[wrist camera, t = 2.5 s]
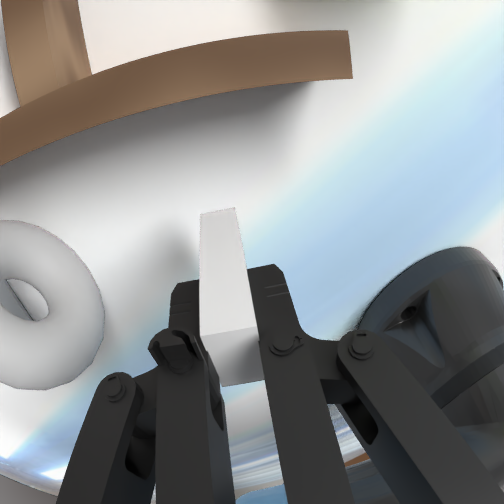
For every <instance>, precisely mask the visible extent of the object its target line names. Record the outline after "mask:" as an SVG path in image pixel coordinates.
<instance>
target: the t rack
mask: <svg viewBox="0 0 504 504" xmlns="http://www.w3.org/2000/svg"><path fill="white" fill-rule="evenodd" d="M1 5H2V14H3V23H4V30H5V37H6V43H7V49H8V54H9V60H10V65H11V69H12V74H13V79H14V83H15V87H16V91H17V95H18V99H19V103H20V108H18V109H16V110H14V111H12V112H10V113H9V114H7V115H5V116H3V117H1V118H0V166H1V165H3V164H5V163H7V162H9V161H11V160H13V159H15V158H18V157H20V156H22V155H24V154H26V153H28V152H31V151H33V150H35V149H37V148H40V147H42V146H44V145H47V144H49V143H52V142H54V141H57V140H59V139H62V138H64V137H67V136H69V135H72V134H75V133H77V132H80V131H83V130H86V129H88V128H91V127H94V126H97V125H100V124H103V123H106V122H109V121H112V120H115V119H118V118H122V117H125V116H128V115H131V114H135V113H138V112H142V111H145V110H149V109H153V108H157V107H160V106H164V105H168V104H172V103H176V102H181V101H185V100H189V99H194V98H199V97H204V96H208V95H214V94H219V93H224V92H230V91H236V90H242V89H248V88H255V87H262V86H269V85H277V84H286V83H295V82H306V81H319V80H335V79H353V76H352V64H351V54H350V45H349V36H348V31H345V30H327V31H298V32H283V33H272V34H262V35H253V36H245V37H238V38H231V39H225V40H219V41H213V42H208V43H203V44H198V45H193V46H188V47H184V48H179V49H175V50H171V51H167V52H163V53H159V54H155V55H152V56H148V57H145V58H141V59H138V60H135V61H131V62H128V63H125V64H122V65H119V66H116V67H113V68H110V69H107V70H104V71H101V72H99V73H96V74H93V75H92V73H91V68H90V64H89V59H88V54H87V50H86V45H85V40H84V35H83V29H82V24H81V18H80V12H79V6H78V0H1Z"/></svg>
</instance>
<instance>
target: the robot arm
mask: <svg viewBox="0 0 504 504" xmlns="http://www.w3.org/2000/svg"><path fill="white" fill-rule="evenodd" d="M170 306H171V307H170V316H169V327H168V328H167V329H163V330H162V331H160V332H159V333H157V334H156V335H155V336H154V337H153V338H152V340H151V341H150V343H149V346H148V350H149V352H150V353H151V355H152V357H153V358H154V360H155V361H156V363H157V364H158V366H157V367H155V368H154V369H152V370H150V371H149V372H146V373H144V374H141V375H139V376H137V377H134V378H132V377H131V376H130V375H129V374H126V373H123V372H116V373H113V374H110V375H108V376H106V377H105V378H104V379H103V380H102V381H101V382H100V384H99V385H98V387H97V389H96V392H95V394H94V397H93V399H92V402H91V404H90V407H89V409H88V412H87V414H86V417H85V420H84V422H83V425H82V427H81V430H80V433H79V435H78V438H77V441H76V444H75V447H74V449H73V452H72V455H71V458H70V461H69V464H68V467H67V470H66V473H65V476H64V479H63V482H62V485H61V488H60V492H59V495H58V498H57V501H56V504H150V503H151V499H152V495H153V490H154V486H155V482H156V504H504V290H503V282H502V279H501V276H500V274H499V272H498V270H497V269H496V268H495V266H494V265H493V264H492V263H491V262H490V261H489V260H488V259H487V258H486V257H485V256H484V255H483V254H482V253H481V252H480V251H478V250H476V249H474V248H470V247H455V248H450V249H446V250H443V251H440V252H437V253H435V254H433V255H431V256H429V257H427V258H425V259H423V260H421V261H419V262H418V263H416V264H415V265H413V266H412V267H410V268H409V269H407V270H406V271H405V272H403V273H402V274H401V275H400V276H398V277H397V278H396V279H395V280H394V281H393V282H392V283H390V284H389V285H388V286H387V287H386V288H385V289H384V290H383V292H382V293H381V294H380V295H379V296H378V297H377V298H376V299H375V301H374V302H373V303H372V305H371V306H370V307H369V309H368V310H367V312H366V314H365V315H364V317H363V319H362V321H361V323H360V325H359V328H358V330H355V331H351V332H348V333H347V334H346V335H344V336H343V337H342V338H341V340H340V341H330V340H319V339H316V338H313V337H311V336H309V335H308V334H306V333H305V332H304V331H303V330H302V328H301V326H300V324H299V321H298V318H297V315H296V312H295V309H294V305H293V302H292V299H291V296H290V293H289V290H288V286H287V284H286V280H285V277H284V274H283V272H282V271H281V270H280V269H279V268H278V267H277V266H276V265H275V264H271V265H266V266H261V267H256V268H251V269H247V265H246V260H245V255H244V250H243V245H242V240H241V235H240V230H239V225H238V220H237V214H236V209H235V207H234V208H229V209H224V210H219V211H214V212H209V213H204V214H200V259H199V279H198V280H192V281H187V282H182V283H177V285H176V287H175V288H174V290H173V292H172V293H171V302H170ZM261 380H265V384H266V389H267V395H268V400H269V406H270V411H271V417H272V422H273V428H274V433H275V438H276V444H277V449H278V454H279V460H280V465H281V470H282V476H283V481H284V483H283V484H282V485H278V486H274V487H270V488H266V489H261V490H257V491H252V492H248V493H246V494H244V495H242V496H241V497H239V498H238V499H237V500H236V501H235V494H234V486H233V478H232V470H231V461H230V453H229V444H228V435H227V425H226V415H225V405H224V400H223V398H222V395H221V393H220V383H221V385H222V387H226V386H232V385H238V384H244V383H250V382H256V381H261ZM327 404H335V405H336V407H337V408H338V410H339V411H340V413H341V414H342V416H343V417H344V419H345V420H346V422H347V424H348V425H349V427H350V428H351V430H352V431H353V433H354V434H355V436H356V437H357V439H358V441H359V442H360V444H361V445H362V447H363V448H364V450H365V451H366V453H367V454H368V456H369V457H370V459H369V460H366V461H363V462H360V463H358V464H354V465H351V466H349V467H345V465H344V462H343V458H342V454H341V451H340V447H339V444H338V440H337V437H336V433H335V430H334V427H333V423H332V420H331V416H330V413H329V410H328V406H327Z"/></svg>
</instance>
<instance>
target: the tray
mask: <svg viewBox="0 0 504 504" xmlns="http://www.w3.org/2000/svg"><path fill="white" fill-rule="evenodd" d="M0 302H1V303H2V305H3V306H4V307H5V308H6V309H7V310H8V311H10V312H11V313H12V314H13V315H15V316H18V317H20V318H22V319H24V320H31V321H33V320H32V319H31V317H30V316H29V314H28V313H27V311H26V310H25V309H24V307H23V306H22V304H21V303H20V301H19V300H18V298H17V297H16V295H15V294H14V292H13V290H12V289H11V287H10V286H9V284H8V282H7V281H6V279H4V280H2V281H0Z"/></svg>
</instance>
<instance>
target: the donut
mask: <svg viewBox="0 0 504 504" xmlns="http://www.w3.org/2000/svg"><path fill="white" fill-rule="evenodd" d="M4 279H18V280H22V281H24V282H26V283H28V284H30V285H32V286H33V287H34V288H36V289H37V290H38V291H39V292H40V293H41V295H42V296H43V297H44V298H45V300H46V302H47V305H48V309H49V314H48V315H47V317H45V318H44V319H42V320H39V321H31V320H24V319H22V318H20V317H18V316H15V315H13V314H12V313H11V312H10V311H8V310H7V309H6V308H5V307H4V306H3V305H2V303H1V302H0V382H1V383H3V384H6V385H8V386H11V387H13V388H16V389H27V390H48V389H51V388H54V387H57V386H60V385H63V384H66V383H69V382H71V381H72V380H74V379H75V378H76V377H77V376H78V375H80V374H81V373H82V372H83V371H84V370H85V369H86V368H87V367H88V366H89V365H91V364H92V362H93V359H94V357H95V355H96V353H97V351H98V348H99V346H100V344H101V342H102V340H103V334H104V318H105V313H104V307H103V303H102V299H101V294H100V290H99V288H98V286H97V284H96V282H95V280H94V278H93V276H92V274H91V272H90V270H89V269H88V267H87V266H86V265H85V264H84V262H83V261H82V260H81V259H80V257H79V256H78V255H77V254H76V252H75V251H74V250H73V249H72V248H70V247H69V246H68V245H67V244H65V243H64V242H63V241H62V240H61V239H59V238H58V237H57V236H55V235H53V234H51V233H50V232H48V231H46V230H44V229H42V228H41V227H39V226H35V225H32V224H28V223H25V222H22V221H9V220H0V281H2V280H4Z"/></svg>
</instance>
